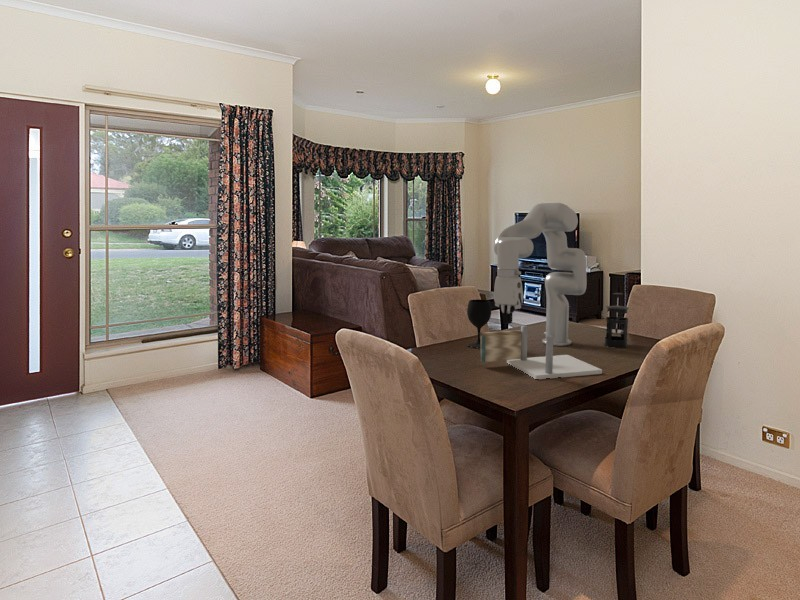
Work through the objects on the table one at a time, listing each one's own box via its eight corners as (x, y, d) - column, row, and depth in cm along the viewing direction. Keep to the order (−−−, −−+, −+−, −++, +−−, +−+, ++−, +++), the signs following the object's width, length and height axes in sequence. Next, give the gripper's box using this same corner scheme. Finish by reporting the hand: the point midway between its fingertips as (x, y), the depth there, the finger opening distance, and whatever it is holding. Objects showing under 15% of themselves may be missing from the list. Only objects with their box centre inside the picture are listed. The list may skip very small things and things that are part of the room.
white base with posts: (506, 363, 212) (507, 326, 210) (567, 358, 219) (568, 322, 217) (535, 379, 190) (536, 338, 188) (601, 373, 197) (603, 333, 194)
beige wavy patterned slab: (518, 358, 212) (519, 330, 211) (521, 359, 210) (521, 330, 209) (480, 361, 208) (480, 332, 207) (481, 362, 207) (482, 333, 205)
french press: (617, 349, 232) (619, 295, 229) (598, 345, 240) (600, 292, 237) (634, 345, 239) (637, 293, 235) (615, 341, 246) (618, 290, 243)
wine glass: (464, 347, 239) (464, 302, 236) (470, 342, 249) (470, 298, 246) (487, 349, 235) (488, 303, 232) (493, 344, 245) (493, 299, 242)
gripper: (531, 273, 196) (531, 324, 199) (497, 271, 207) (497, 319, 210) (519, 276, 191) (519, 327, 194) (484, 273, 201) (484, 322, 204)
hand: (507, 323), depth 202 cm, fingers closed
